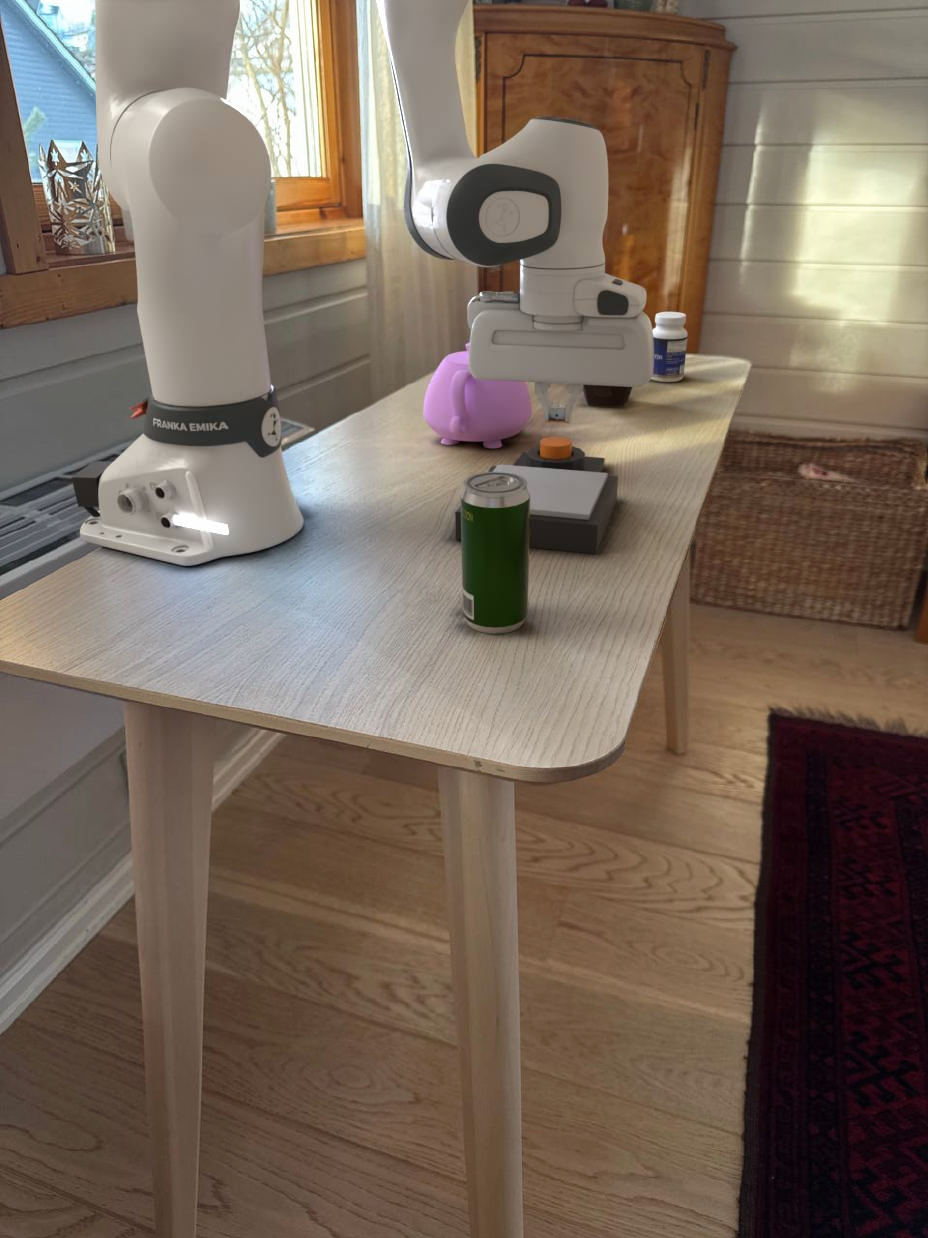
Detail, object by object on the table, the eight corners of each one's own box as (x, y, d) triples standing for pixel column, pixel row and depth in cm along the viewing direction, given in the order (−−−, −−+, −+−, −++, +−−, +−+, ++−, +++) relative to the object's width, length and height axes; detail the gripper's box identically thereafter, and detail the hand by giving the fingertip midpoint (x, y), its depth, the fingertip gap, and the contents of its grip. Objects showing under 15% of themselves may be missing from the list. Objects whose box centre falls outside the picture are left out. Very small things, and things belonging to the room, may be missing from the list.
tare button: (536, 459, 102) (537, 444, 101) (543, 450, 105) (543, 435, 104) (568, 462, 101) (568, 447, 100) (573, 452, 104) (574, 437, 103)
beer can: (487, 642, 71) (486, 500, 65) (450, 616, 75) (446, 479, 69) (540, 623, 74) (544, 485, 68) (502, 598, 78) (503, 466, 72)
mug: (643, 394, 136) (649, 312, 130) (635, 420, 124) (641, 331, 118) (577, 391, 138) (581, 310, 132) (563, 417, 126) (566, 329, 120)
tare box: (502, 489, 101) (502, 463, 100) (522, 460, 110) (523, 437, 108) (590, 496, 99) (591, 470, 97) (604, 467, 107) (605, 442, 106)
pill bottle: (640, 376, 146) (645, 312, 141) (672, 372, 147) (678, 309, 143) (657, 384, 141) (663, 318, 136) (690, 381, 143) (696, 315, 138)
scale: (455, 539, 89) (454, 505, 87) (491, 491, 101) (491, 460, 99) (596, 554, 85) (597, 519, 84) (616, 502, 97) (618, 470, 95)
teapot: (452, 411, 130) (450, 324, 124) (548, 417, 126) (550, 328, 120) (403, 453, 113) (398, 355, 107) (512, 463, 109) (513, 361, 103)
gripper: (458, 295, 95) (462, 423, 101) (655, 299, 89) (645, 435, 96) (474, 285, 100) (477, 408, 107) (661, 289, 95) (651, 418, 101)
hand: (558, 421), depth 101 cm, fingers closed
